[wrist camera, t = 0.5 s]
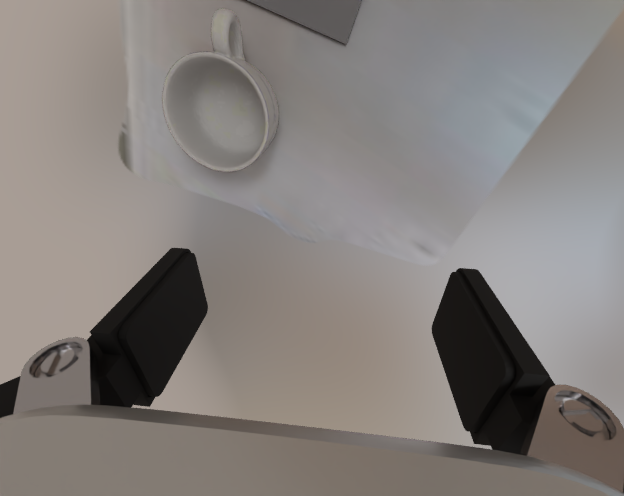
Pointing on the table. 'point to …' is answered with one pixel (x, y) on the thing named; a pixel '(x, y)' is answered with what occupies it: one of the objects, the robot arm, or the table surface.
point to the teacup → (220, 102)
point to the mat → (318, 14)
